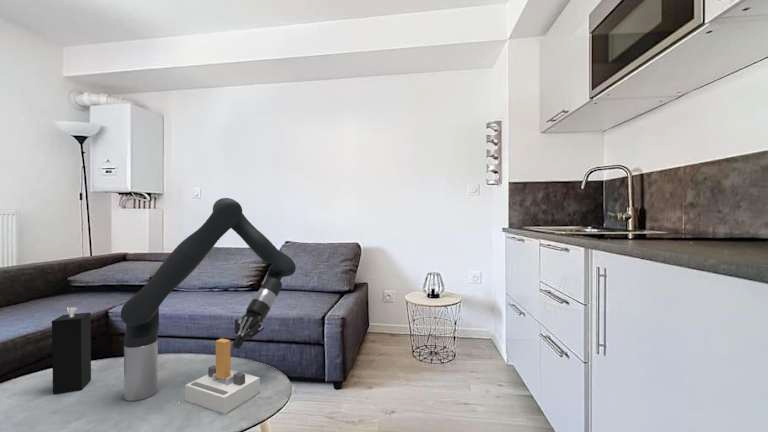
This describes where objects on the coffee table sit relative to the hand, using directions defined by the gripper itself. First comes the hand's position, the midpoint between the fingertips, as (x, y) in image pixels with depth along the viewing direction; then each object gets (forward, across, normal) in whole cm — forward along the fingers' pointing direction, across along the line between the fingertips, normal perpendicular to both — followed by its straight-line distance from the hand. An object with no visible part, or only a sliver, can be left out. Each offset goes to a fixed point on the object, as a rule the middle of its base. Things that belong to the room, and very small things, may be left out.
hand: (235, 347), depth 118 cm
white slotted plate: (+14, 0, +7) cm, 15 cm away
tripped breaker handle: (+9, 0, +2) cm, 9 cm away
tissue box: (+26, -53, -6) cm, 60 cm away
